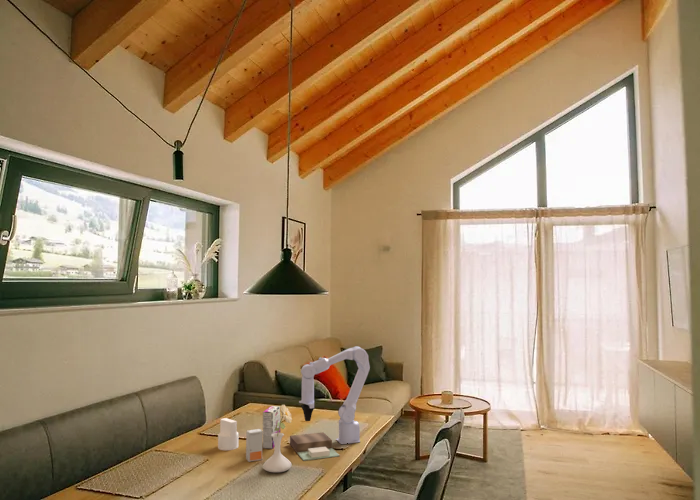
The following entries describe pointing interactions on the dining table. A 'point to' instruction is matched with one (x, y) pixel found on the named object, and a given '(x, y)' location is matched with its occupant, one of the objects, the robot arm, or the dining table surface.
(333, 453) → the mat
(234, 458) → the dining table surface
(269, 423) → the candy bar box
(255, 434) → the skincare box
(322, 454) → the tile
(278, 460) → the flower in vase
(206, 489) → the dining table surface
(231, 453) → the dining table surface
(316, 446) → the brown flat block
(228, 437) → the cylinder with rectangular tab
